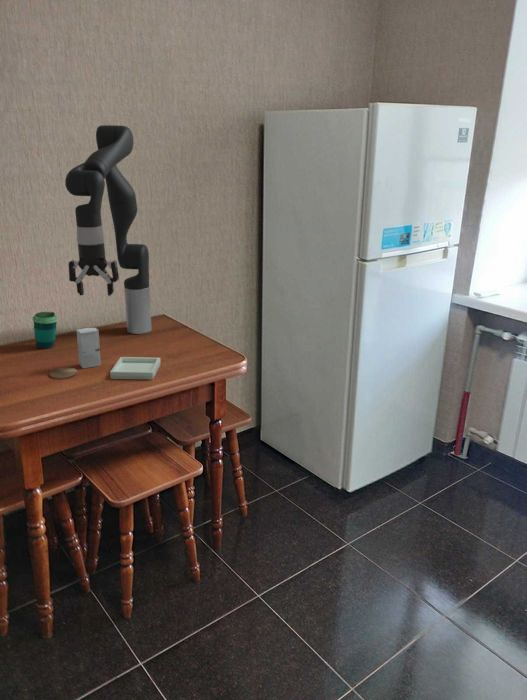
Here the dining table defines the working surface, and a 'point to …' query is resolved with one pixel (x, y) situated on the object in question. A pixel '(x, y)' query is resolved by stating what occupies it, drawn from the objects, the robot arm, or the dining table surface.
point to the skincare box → (88, 347)
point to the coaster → (63, 373)
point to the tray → (135, 368)
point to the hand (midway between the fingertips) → (95, 294)
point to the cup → (45, 329)
